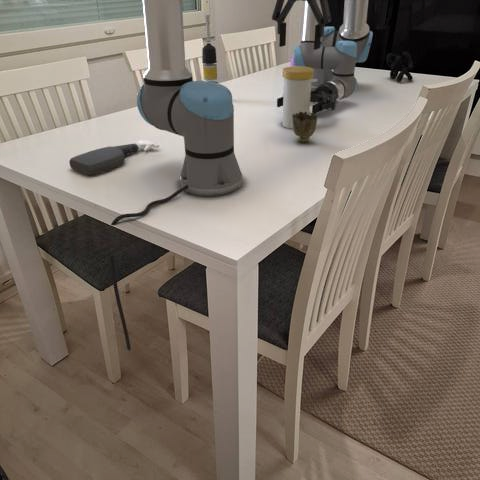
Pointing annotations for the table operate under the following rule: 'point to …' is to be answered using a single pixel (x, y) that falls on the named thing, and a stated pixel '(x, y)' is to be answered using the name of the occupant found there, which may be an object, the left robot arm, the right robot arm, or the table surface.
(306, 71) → the lid
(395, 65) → the squiggle
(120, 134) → the table surface
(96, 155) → the spray bottle
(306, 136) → the cup
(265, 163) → the table surface
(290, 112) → the jar
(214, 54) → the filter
